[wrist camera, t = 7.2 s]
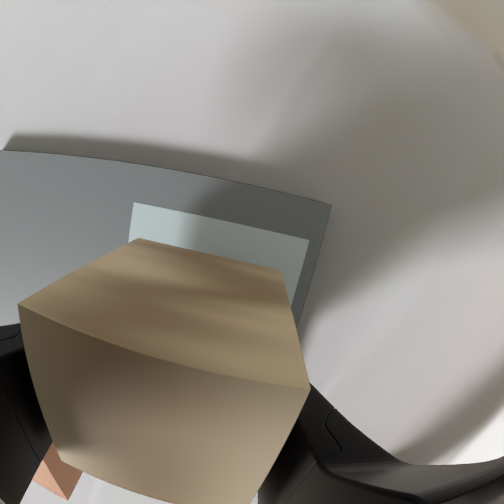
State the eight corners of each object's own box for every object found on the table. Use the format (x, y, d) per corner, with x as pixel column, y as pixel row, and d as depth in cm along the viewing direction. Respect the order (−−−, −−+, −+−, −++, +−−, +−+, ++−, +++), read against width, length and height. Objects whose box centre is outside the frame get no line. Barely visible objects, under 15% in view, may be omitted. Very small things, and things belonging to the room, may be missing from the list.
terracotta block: (92, 387, 13) (42, 459, 7) (101, 437, 14) (68, 500, 8) (29, 356, 13) (-26, 409, 7) (43, 409, 14) (3, 460, 8)
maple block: (280, 270, 10) (310, 388, 4) (248, 385, 11) (241, 515, 5) (138, 237, 9) (17, 303, 4) (129, 355, 11) (61, 461, 5)
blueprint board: (325, 203, 12) (331, 205, 11) (238, 470, 16) (237, 480, 15) (1, 150, 11) (-10, 150, 10) (20, 391, 15) (14, 398, 14)
